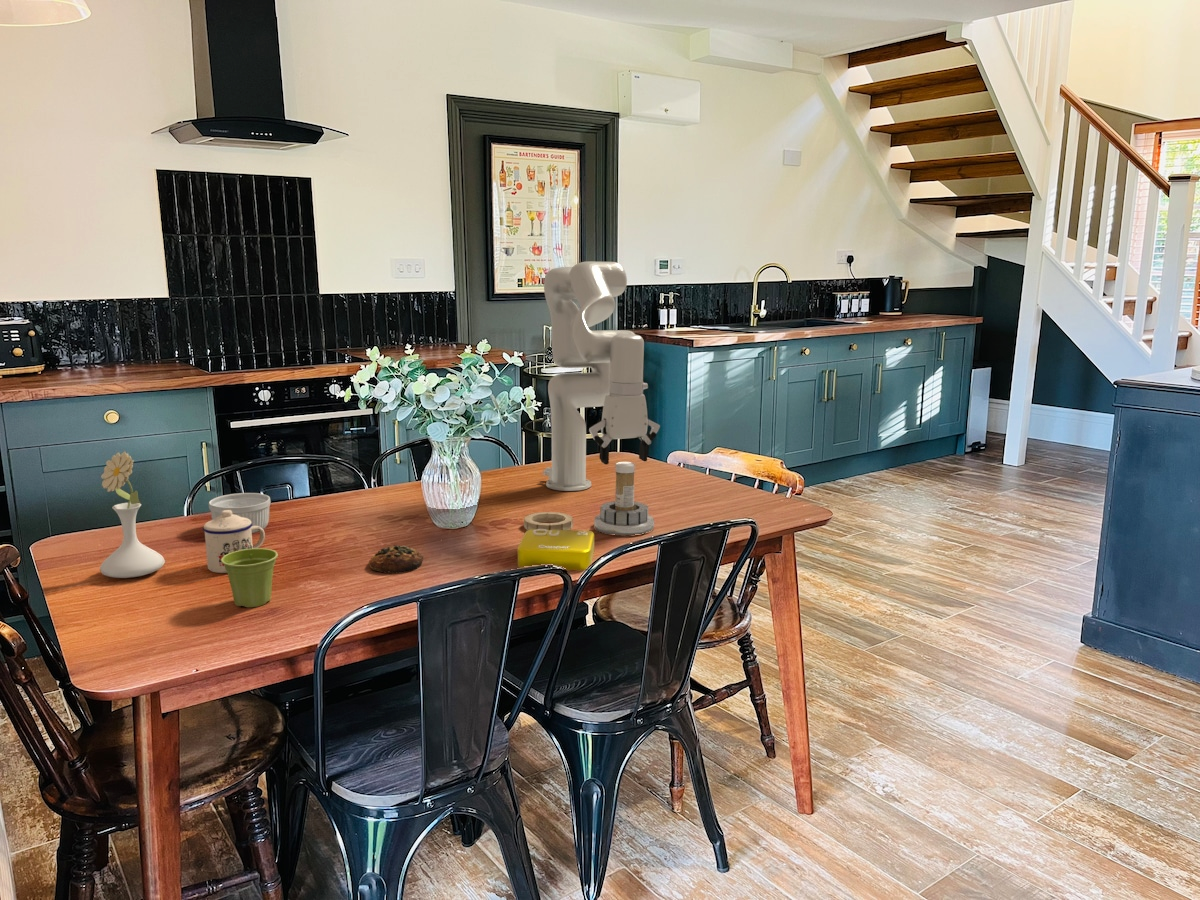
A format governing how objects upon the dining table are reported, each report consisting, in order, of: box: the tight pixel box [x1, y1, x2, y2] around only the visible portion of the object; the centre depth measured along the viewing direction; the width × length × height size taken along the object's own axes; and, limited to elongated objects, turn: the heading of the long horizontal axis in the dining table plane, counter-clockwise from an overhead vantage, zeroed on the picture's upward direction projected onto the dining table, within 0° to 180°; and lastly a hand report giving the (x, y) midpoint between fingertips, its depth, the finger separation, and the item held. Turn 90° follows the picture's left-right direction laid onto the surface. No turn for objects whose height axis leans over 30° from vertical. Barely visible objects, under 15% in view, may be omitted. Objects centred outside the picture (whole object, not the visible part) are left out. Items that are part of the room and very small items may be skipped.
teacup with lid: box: [202, 510, 266, 574], centre depth 178 cm, size 12×9×12 cm
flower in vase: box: [99, 451, 166, 579], centre depth 171 cm, size 13×11×25 cm
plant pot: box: [221, 547, 279, 608], centre depth 159 cm, size 9×9×9 cm
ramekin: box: [208, 492, 272, 534], centre depth 203 cm, size 13×13×7 cm
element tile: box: [517, 529, 595, 571], centre depth 185 cm, size 15×15×5 cm
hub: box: [593, 501, 655, 535], centre depth 207 cm, size 14×14×5 cm
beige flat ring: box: [523, 511, 574, 531], centre depth 208 cm, size 11×11×2 cm
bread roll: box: [368, 544, 424, 574], centre depth 180 cm, size 11×11×5 cm
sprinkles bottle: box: [614, 461, 636, 511], centre depth 206 cm, size 5×5×13 cm
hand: (624, 461), depth 205 cm, fingers open, 9 cm apart
